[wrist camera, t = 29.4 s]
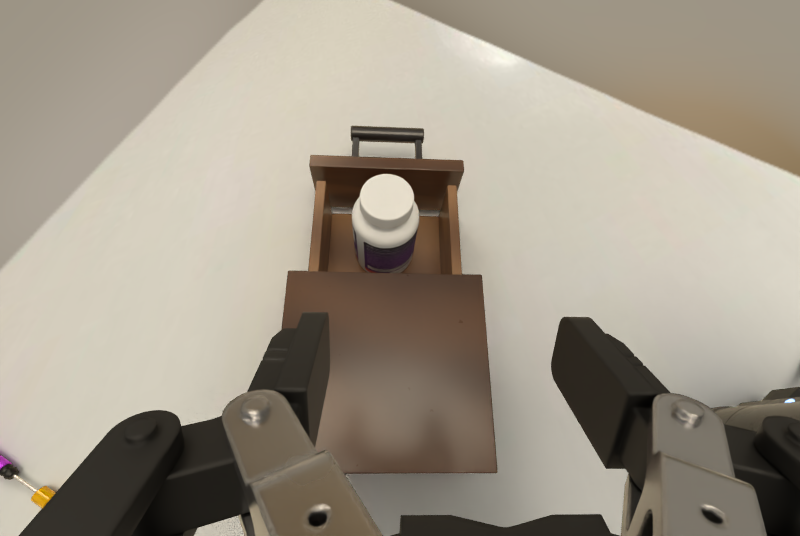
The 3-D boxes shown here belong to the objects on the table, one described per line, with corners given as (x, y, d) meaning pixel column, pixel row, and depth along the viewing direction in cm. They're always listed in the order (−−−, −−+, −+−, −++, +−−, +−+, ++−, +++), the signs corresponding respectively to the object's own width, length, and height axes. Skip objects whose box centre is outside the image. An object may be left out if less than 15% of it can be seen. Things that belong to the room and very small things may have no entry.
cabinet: (305, 304, 39) (287, 270, 31) (460, 307, 40) (481, 274, 32) (290, 466, 34) (265, 473, 26) (469, 465, 34) (497, 473, 27)
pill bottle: (424, 254, 39) (439, 199, 30) (382, 290, 38) (384, 243, 29) (385, 216, 41) (388, 153, 32) (343, 249, 39) (334, 192, 30)
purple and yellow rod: (-75, 422, 33) (81, 534, 31) (-86, 418, 32) (74, 533, 30) (-39, 393, 35) (111, 498, 33) (-49, 389, 34) (105, 496, 32)
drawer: (323, 154, 44) (315, 107, 38) (448, 158, 45) (460, 112, 39) (309, 315, 38) (296, 291, 31) (456, 318, 38) (472, 294, 32)
